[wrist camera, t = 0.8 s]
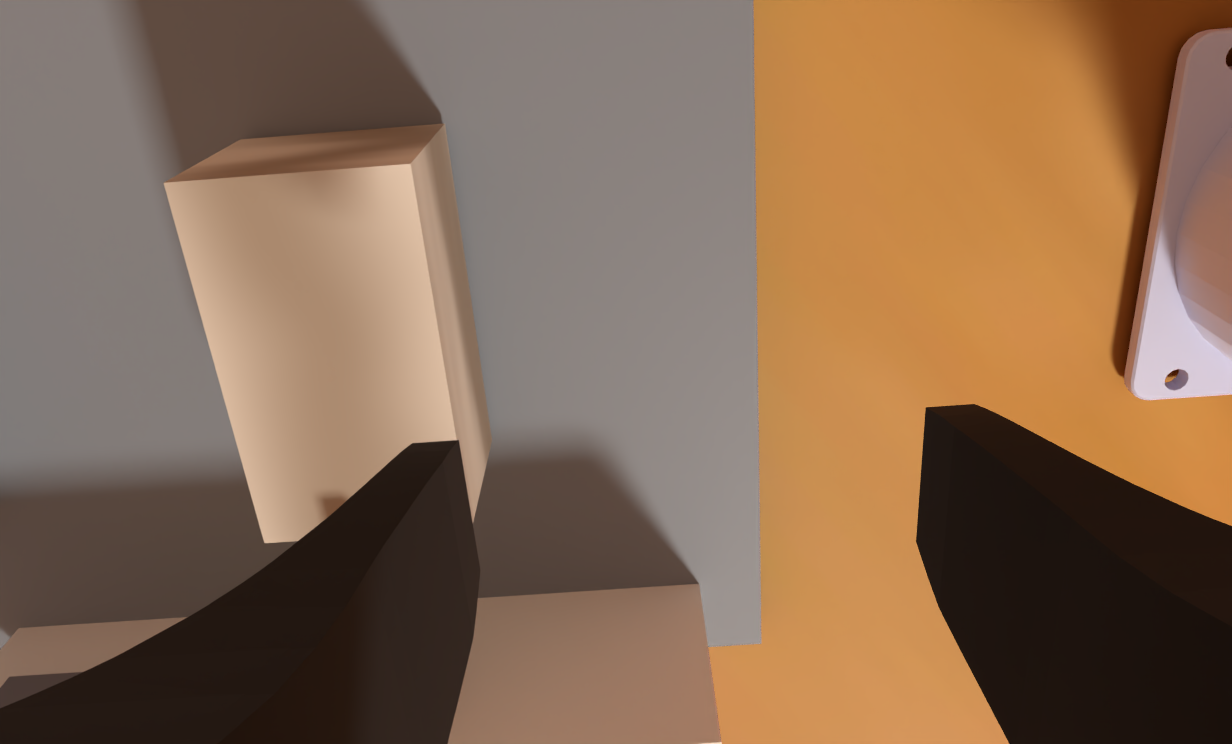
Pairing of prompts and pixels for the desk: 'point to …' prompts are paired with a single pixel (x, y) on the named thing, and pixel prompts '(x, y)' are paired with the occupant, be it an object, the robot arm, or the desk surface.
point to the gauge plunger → (334, 311)
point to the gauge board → (503, 314)
